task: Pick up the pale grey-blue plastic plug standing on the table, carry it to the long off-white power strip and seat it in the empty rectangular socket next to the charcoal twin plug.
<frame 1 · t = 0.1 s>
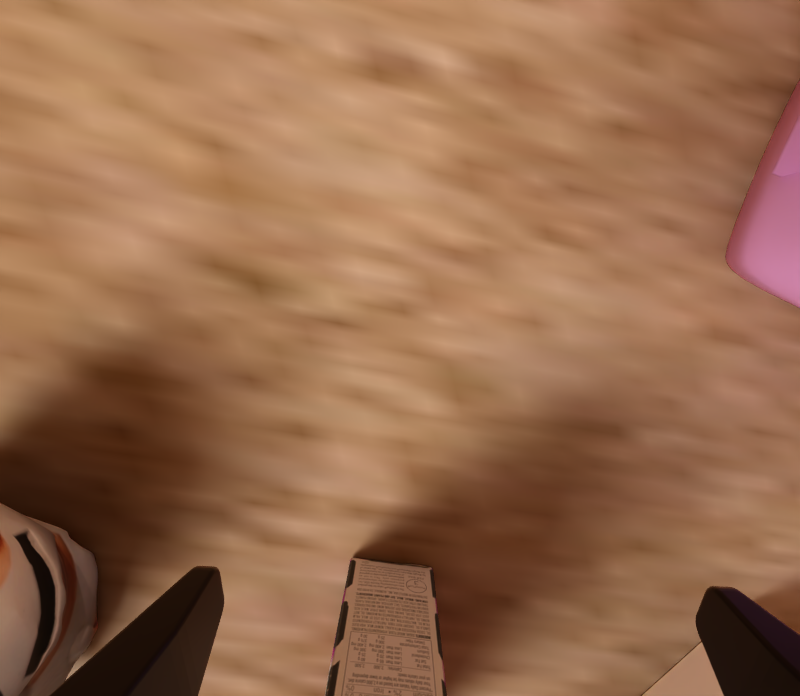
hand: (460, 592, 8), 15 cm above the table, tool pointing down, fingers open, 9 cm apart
candy bar box: (384, 643, 26), on the table
lucky cat figurine: (15, 555, 26), on the table
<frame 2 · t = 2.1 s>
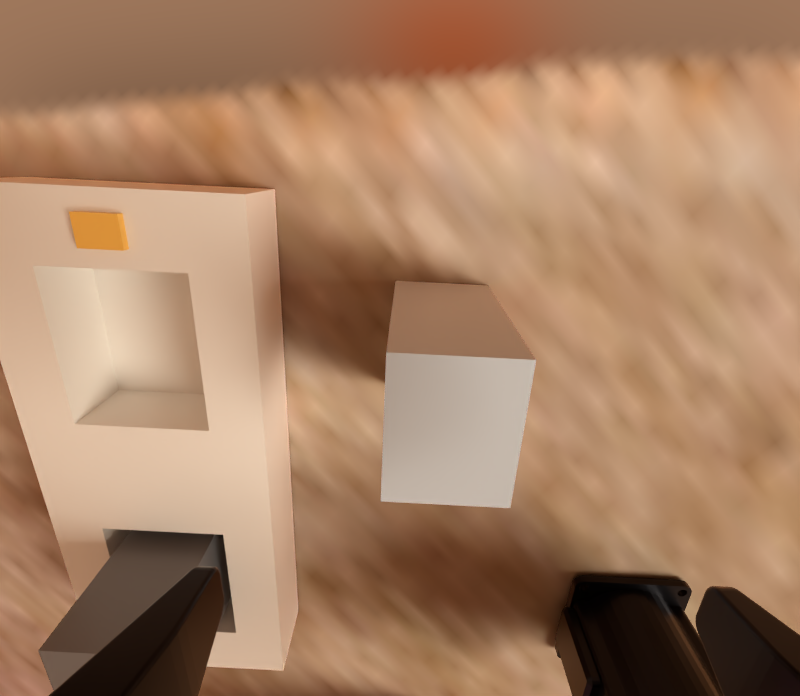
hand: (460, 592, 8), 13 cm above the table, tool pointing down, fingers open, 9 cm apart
plug: (437, 337, 20), on the table
power strip: (189, 436, 23), on the table
twin plug: (200, 535, 24), resting on power strip
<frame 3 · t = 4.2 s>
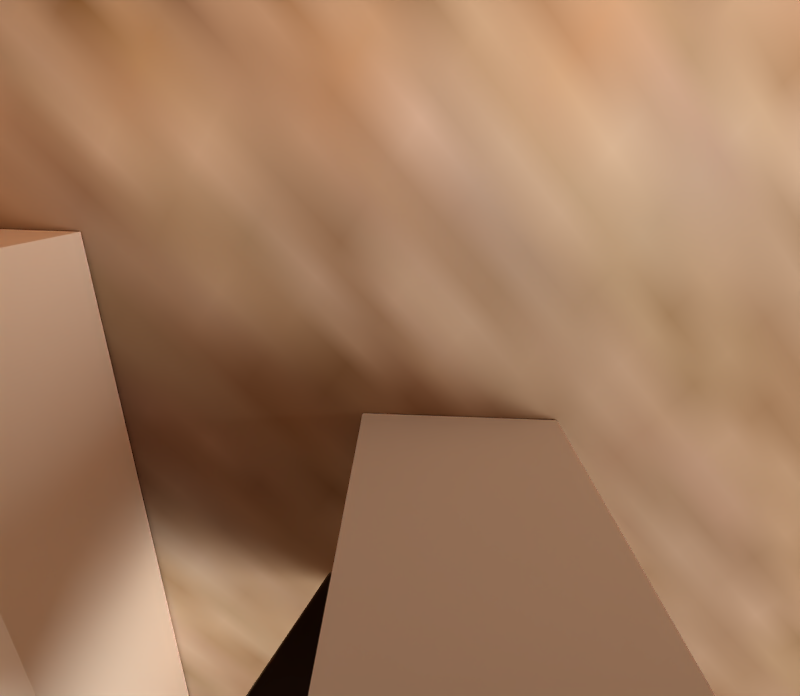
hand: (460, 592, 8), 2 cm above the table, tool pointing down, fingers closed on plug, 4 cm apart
plug: (450, 512, 10), on the table, touching gripper
power strip: (5, 665, 13), on the table
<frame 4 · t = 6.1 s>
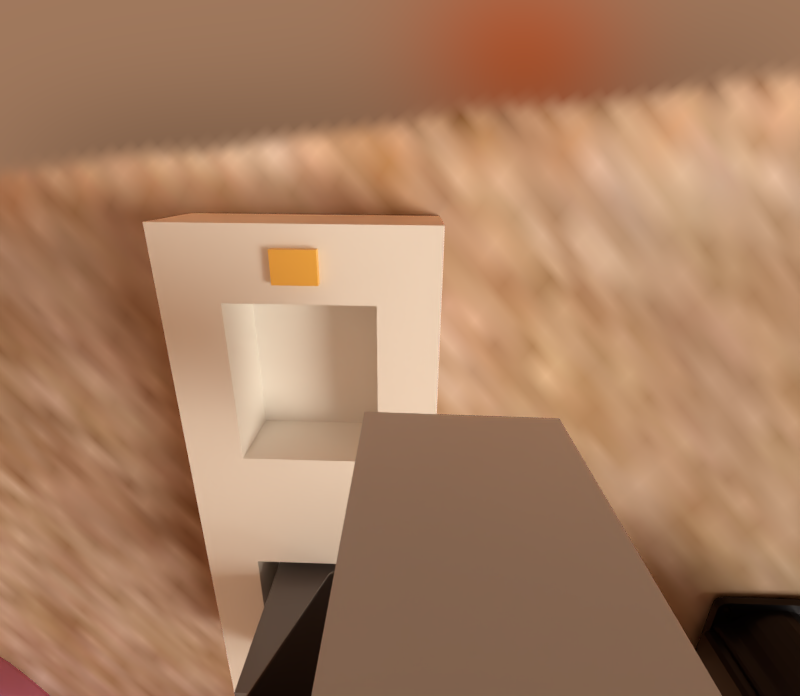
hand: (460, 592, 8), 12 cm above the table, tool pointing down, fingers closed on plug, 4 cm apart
plug: (452, 510, 10), point 10 cm above the table, touching gripper
power strip: (329, 464, 22), on the table
twin plug: (333, 563, 24), resting on power strip
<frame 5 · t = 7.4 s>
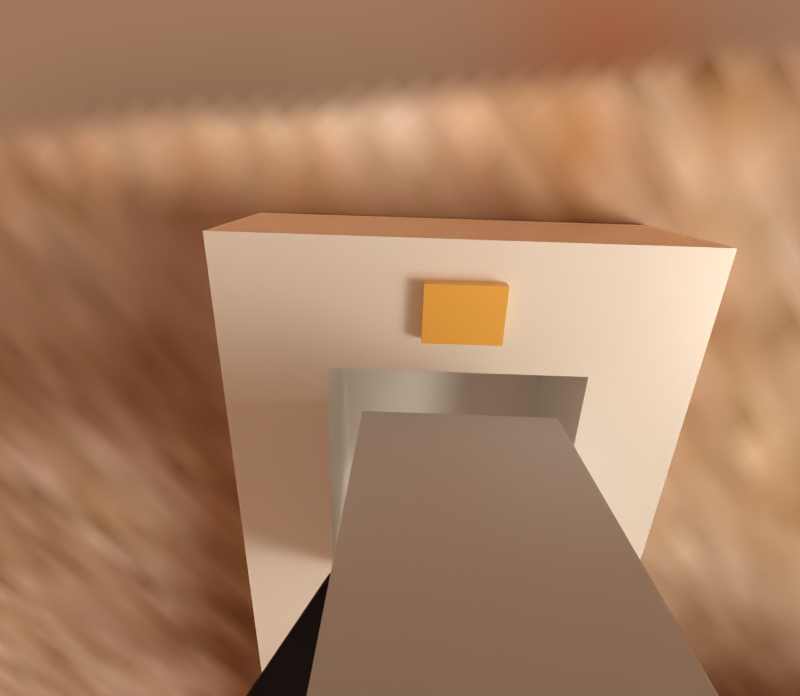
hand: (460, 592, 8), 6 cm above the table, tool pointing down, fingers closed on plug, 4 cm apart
plug: (451, 510, 10), point 4 cm above the table, touching gripper
power strip: (427, 563, 16), on the table
when the fingers open (4 cm above the table, at t = 8.1 s): plug drops 2 cm, resting on power strip.
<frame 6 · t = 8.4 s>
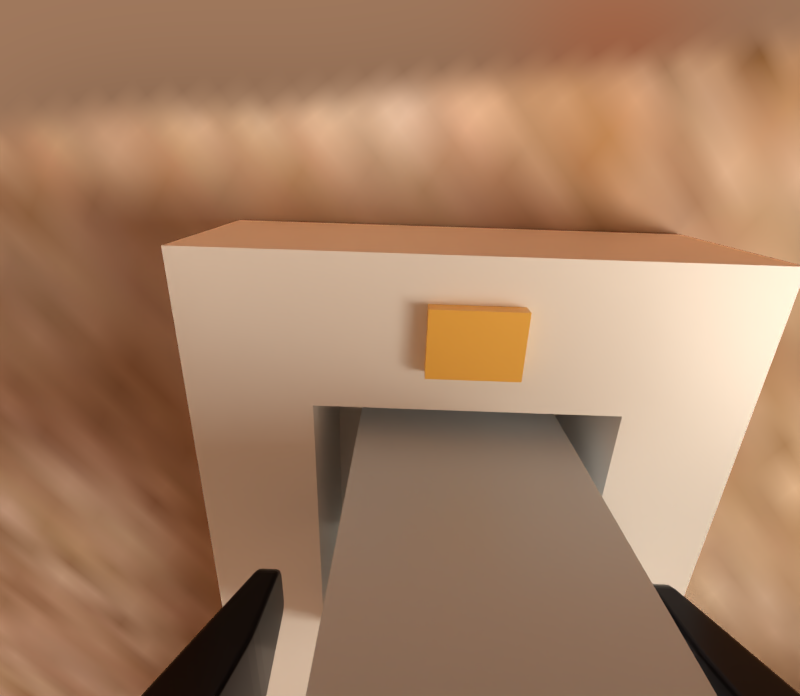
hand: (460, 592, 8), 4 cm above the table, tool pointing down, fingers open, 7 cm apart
plug: (443, 458, 12), resting on power strip
power strip: (430, 602, 15), on the table
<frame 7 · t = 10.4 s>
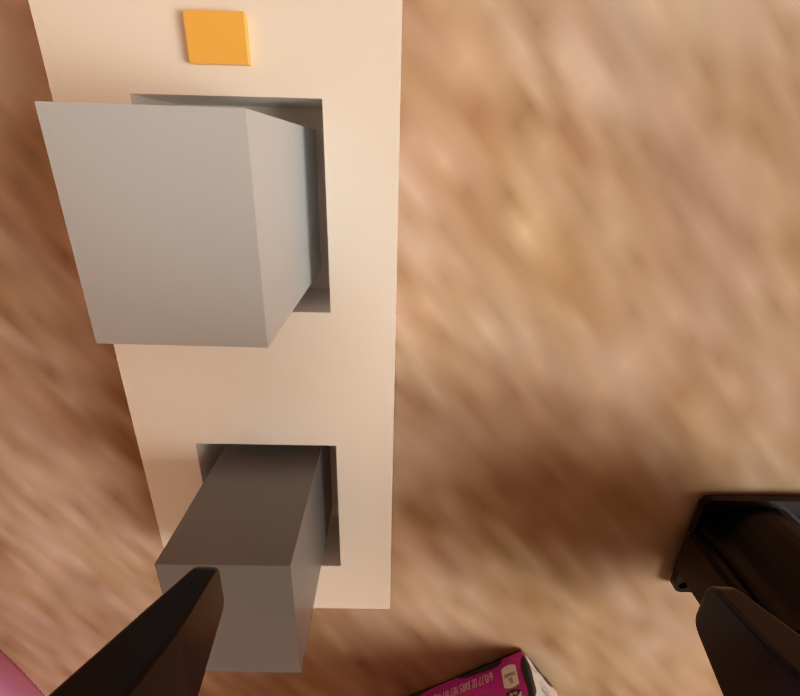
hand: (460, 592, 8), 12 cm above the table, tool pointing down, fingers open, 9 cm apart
candy bar box: (463, 692, 30), on the table
plug: (265, 202, 17), resting on power strip
power strip: (281, 345, 20), on the table
twin plug: (288, 464, 22), resting on power strip
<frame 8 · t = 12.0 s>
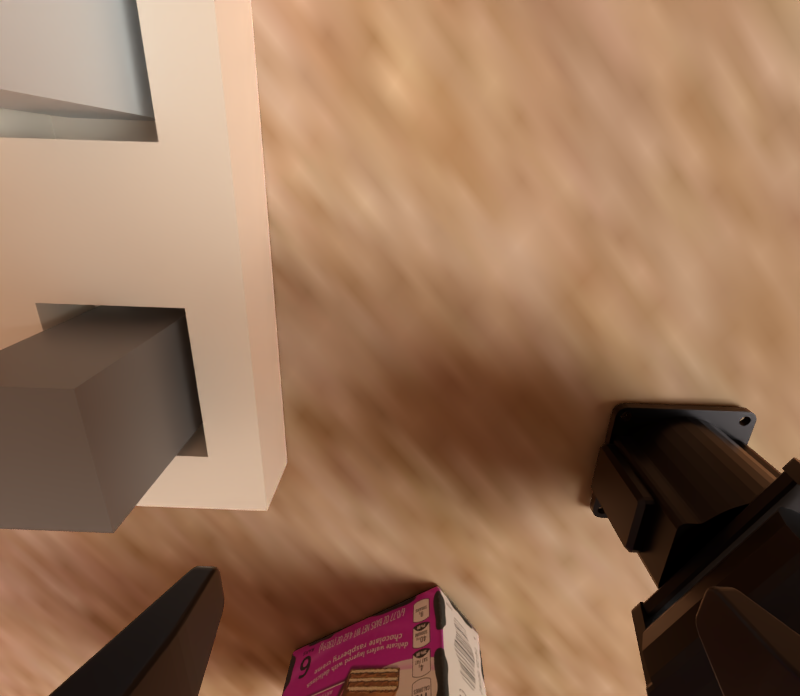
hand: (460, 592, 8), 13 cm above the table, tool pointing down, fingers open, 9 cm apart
candy bar box: (381, 635, 28), on the table
plug: (109, 40, 16), resting on power strip
power strip: (148, 217, 19), on the table
twin plug: (166, 355, 20), resting on power strip
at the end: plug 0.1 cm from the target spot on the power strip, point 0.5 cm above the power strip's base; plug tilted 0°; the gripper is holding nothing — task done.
